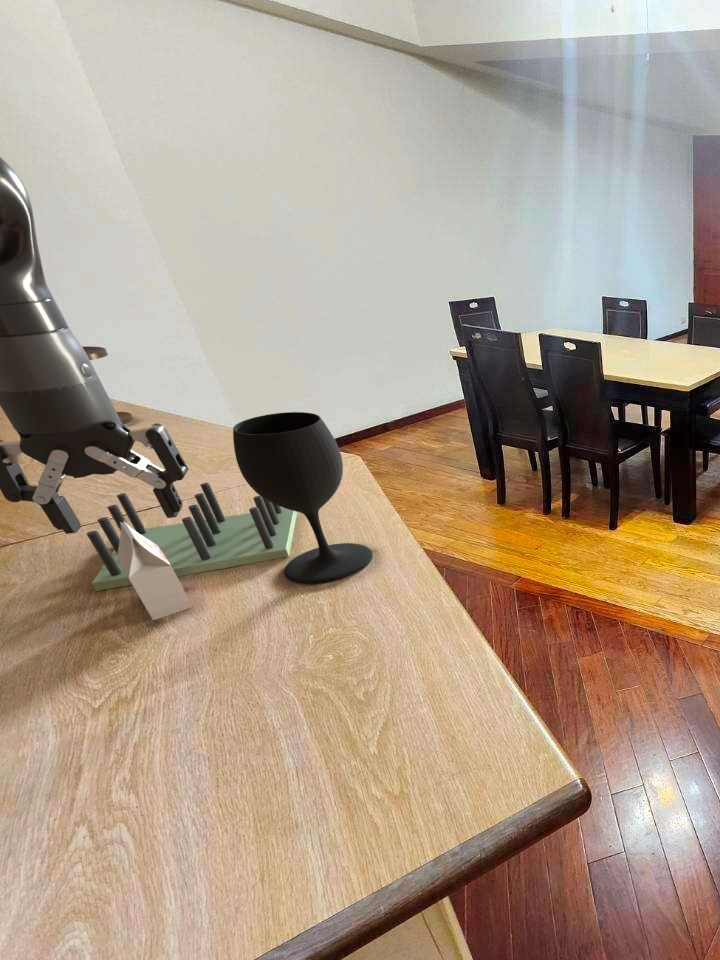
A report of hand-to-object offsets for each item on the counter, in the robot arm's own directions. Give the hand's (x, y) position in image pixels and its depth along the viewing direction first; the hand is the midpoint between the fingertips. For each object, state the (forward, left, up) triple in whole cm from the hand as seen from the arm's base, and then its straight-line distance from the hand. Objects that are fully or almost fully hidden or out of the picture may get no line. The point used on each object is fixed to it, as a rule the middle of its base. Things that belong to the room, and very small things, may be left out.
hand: (125, 522), depth 67 cm
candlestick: (-26, +86, -11) cm, 90 cm away
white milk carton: (0, 0, -11) cm, 11 cm away
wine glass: (+17, +2, -11) cm, 20 cm away
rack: (+2, +14, -11) cm, 18 cm away
